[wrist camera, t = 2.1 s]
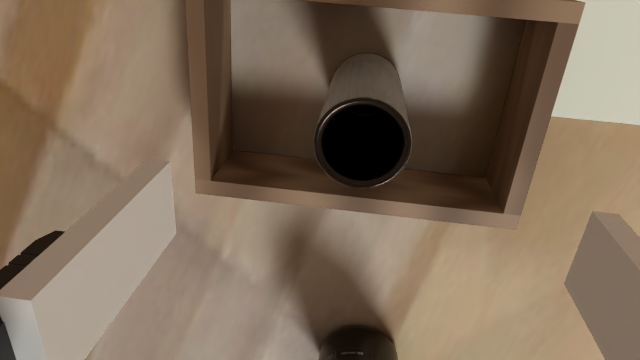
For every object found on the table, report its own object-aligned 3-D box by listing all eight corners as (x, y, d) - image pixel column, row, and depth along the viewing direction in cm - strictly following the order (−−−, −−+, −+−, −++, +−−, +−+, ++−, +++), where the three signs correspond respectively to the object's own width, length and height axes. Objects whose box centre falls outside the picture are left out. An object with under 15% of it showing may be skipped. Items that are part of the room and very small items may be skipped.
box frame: (219, 161, 34) (195, 193, 29) (213, -34, 28) (183, -31, 24) (496, 192, 33) (516, 229, 28) (550, -6, 27) (585, 2, 22)
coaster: (527, 111, 30) (529, 114, 29) (564, -24, 26) (568, -24, 26) (639, 122, 29) (643, 125, 29) (692, -14, 26) (699, -13, 25)
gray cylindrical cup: (318, 95, 31) (294, 154, 22) (358, 37, 29) (351, 76, 20) (372, 133, 32) (371, 206, 23) (415, 80, 30) (433, 136, 21)
